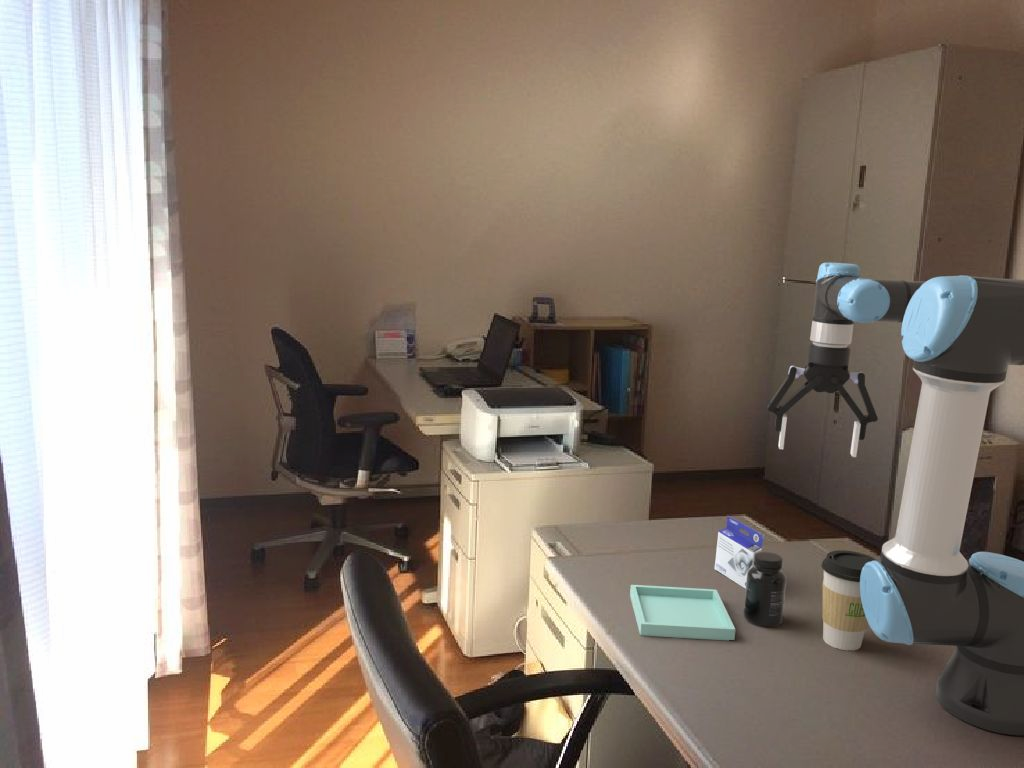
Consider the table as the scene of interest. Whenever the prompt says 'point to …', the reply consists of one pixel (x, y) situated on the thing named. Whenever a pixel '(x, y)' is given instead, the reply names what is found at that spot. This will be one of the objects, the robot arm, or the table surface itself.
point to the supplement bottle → (765, 590)
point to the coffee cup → (843, 599)
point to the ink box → (737, 550)
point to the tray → (681, 613)
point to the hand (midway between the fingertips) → (816, 451)
